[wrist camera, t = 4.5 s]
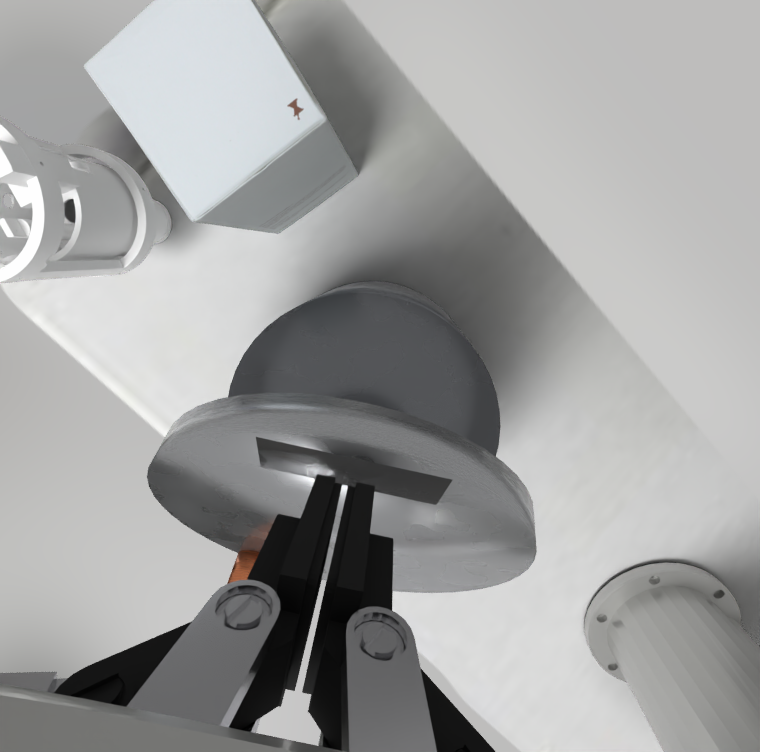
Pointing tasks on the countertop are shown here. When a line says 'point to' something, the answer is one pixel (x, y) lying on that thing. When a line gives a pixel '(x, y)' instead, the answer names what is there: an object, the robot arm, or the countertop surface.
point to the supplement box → (222, 113)
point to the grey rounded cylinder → (377, 358)
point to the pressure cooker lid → (349, 465)
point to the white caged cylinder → (71, 211)
